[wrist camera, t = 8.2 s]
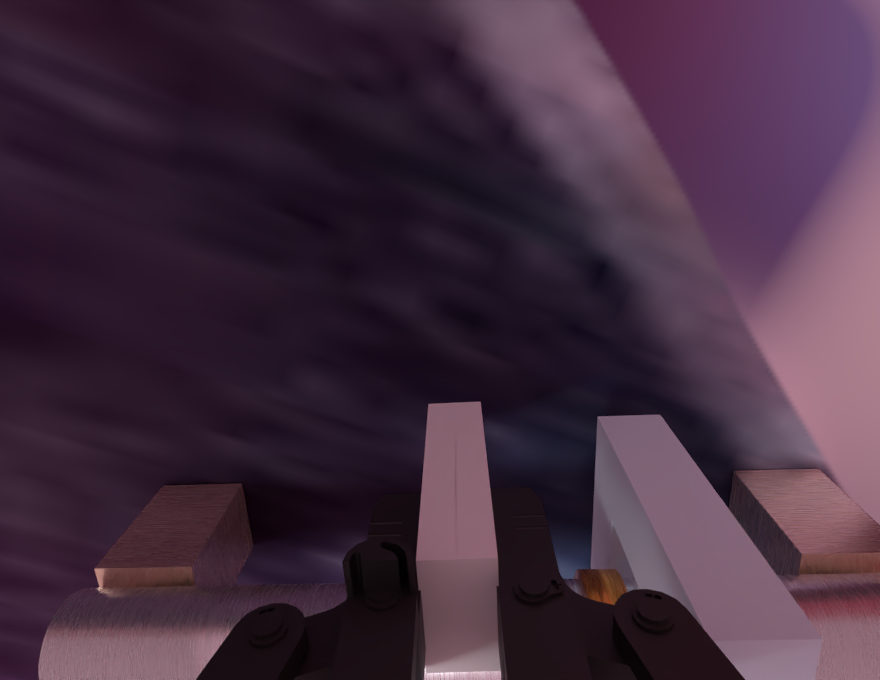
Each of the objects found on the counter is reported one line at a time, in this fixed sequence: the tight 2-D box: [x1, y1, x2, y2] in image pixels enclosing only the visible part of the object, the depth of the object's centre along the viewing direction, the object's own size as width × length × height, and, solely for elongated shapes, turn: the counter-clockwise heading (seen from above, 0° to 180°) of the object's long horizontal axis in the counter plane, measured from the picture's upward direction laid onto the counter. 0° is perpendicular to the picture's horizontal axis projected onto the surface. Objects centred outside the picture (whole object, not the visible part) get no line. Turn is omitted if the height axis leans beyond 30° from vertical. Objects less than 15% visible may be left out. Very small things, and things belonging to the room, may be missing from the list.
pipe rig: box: [38, 469, 880, 680], centre depth 19 cm, size 24×4×8 cm, turn 93°
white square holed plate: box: [591, 415, 823, 680], centre depth 16 cm, size 2×9×9 cm, turn 3°
